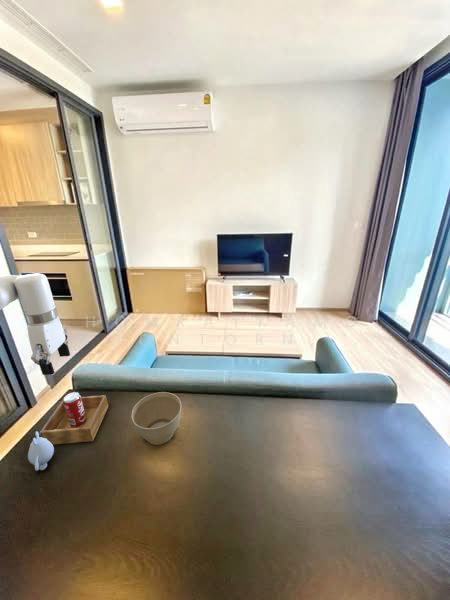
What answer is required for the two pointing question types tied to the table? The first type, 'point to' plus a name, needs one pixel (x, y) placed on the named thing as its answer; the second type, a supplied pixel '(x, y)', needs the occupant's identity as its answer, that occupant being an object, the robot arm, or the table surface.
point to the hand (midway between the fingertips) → (57, 364)
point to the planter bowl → (157, 417)
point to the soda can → (74, 410)
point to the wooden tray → (62, 432)
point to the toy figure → (40, 452)
